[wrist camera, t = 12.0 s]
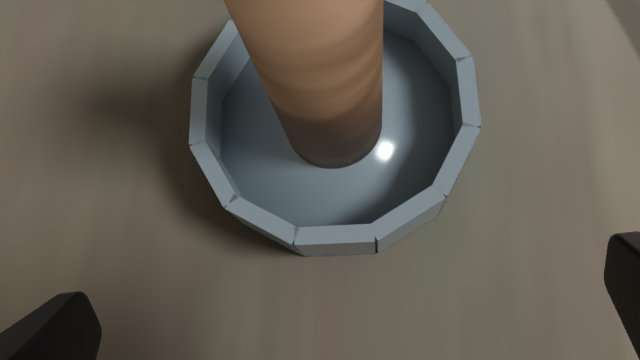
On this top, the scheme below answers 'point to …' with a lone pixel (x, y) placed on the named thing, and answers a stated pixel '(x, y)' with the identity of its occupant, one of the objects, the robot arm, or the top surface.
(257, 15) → the brown cylinder
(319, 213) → the bowl
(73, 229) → the top surface
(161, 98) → the top surface
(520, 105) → the top surface
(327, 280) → the top surface
